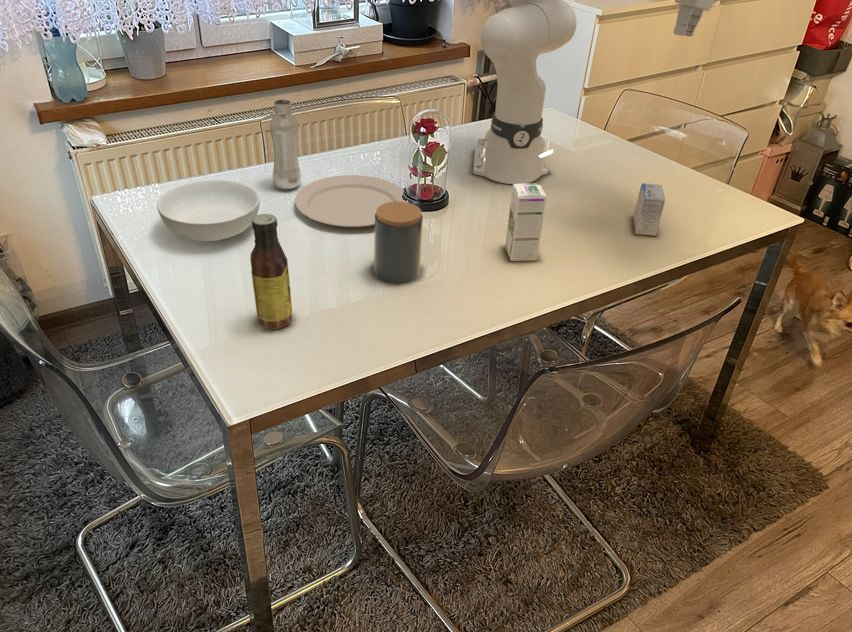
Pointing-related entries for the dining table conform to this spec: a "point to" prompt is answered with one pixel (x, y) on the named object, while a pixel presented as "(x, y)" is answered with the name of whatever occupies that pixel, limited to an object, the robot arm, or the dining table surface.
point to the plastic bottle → (285, 146)
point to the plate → (346, 199)
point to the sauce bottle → (270, 274)
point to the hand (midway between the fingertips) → (682, 35)
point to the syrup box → (525, 221)
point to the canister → (397, 242)
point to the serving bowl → (209, 209)
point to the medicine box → (648, 209)
